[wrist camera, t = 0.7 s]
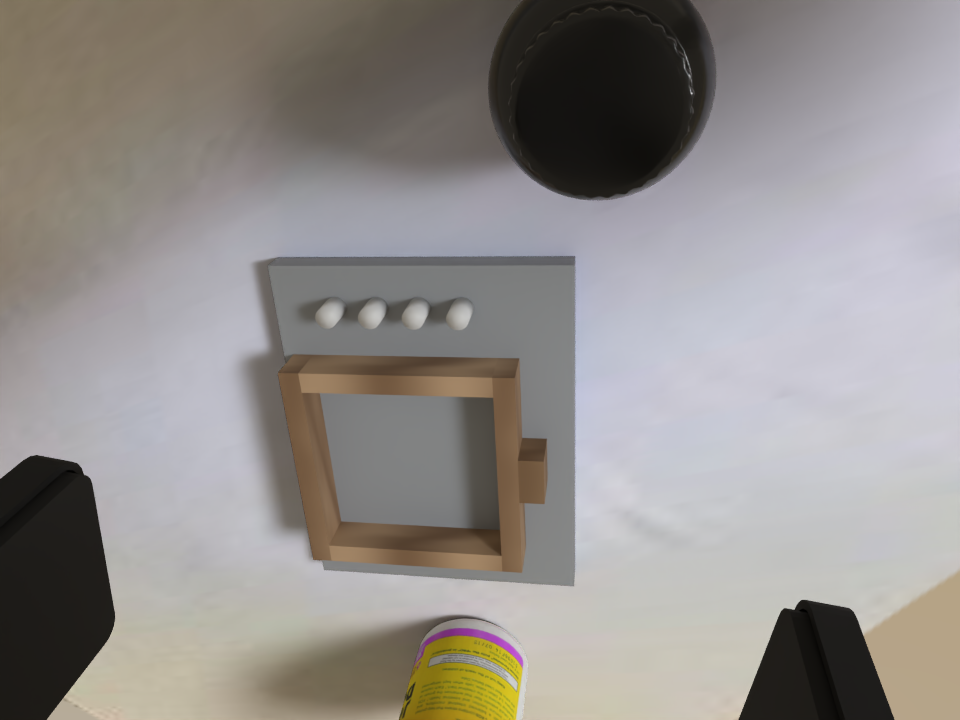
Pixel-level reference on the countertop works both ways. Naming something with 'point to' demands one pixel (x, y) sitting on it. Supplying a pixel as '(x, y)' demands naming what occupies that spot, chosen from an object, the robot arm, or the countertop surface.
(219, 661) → the countertop surface
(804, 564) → the countertop surface
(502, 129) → the supplement bottle
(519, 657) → the supplement bottle
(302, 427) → the frame
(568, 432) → the board
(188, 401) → the countertop surface
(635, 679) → the countertop surface
